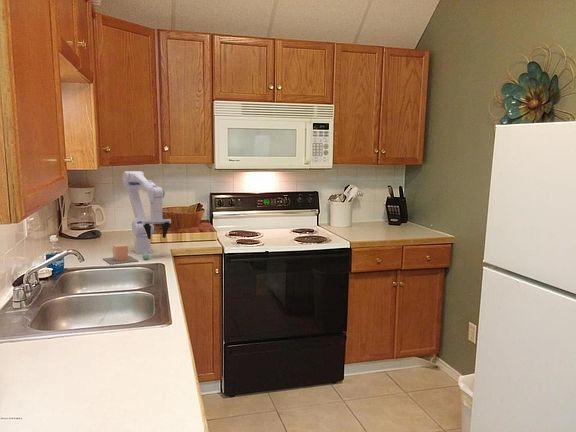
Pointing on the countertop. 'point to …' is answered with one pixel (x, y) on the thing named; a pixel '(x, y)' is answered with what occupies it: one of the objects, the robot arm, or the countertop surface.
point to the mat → (112, 261)
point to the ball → (145, 256)
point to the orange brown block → (120, 252)
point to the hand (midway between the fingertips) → (156, 238)
